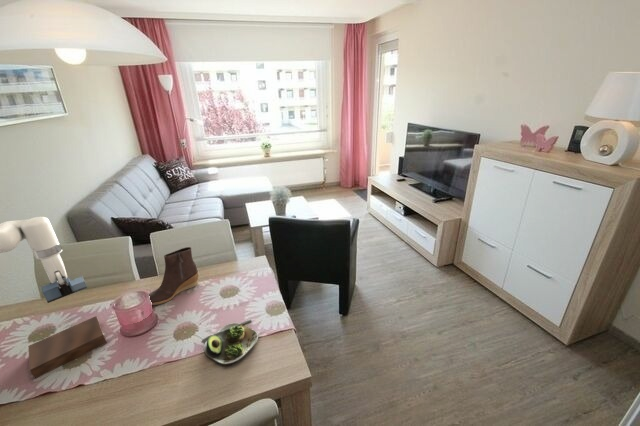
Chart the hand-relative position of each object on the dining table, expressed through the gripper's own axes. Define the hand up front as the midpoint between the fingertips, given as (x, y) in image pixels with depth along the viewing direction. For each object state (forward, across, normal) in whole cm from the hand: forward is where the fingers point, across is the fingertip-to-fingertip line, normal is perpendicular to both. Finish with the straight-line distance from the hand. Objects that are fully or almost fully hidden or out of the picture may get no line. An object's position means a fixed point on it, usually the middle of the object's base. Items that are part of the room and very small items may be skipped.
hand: (66, 291), depth 112 cm
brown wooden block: (+15, +14, -5) cm, 21 cm away
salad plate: (+15, +57, +35) cm, 69 cm away
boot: (+15, +11, +33) cm, 38 cm away
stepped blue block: (+1, 0, 0) cm, 1 cm away
